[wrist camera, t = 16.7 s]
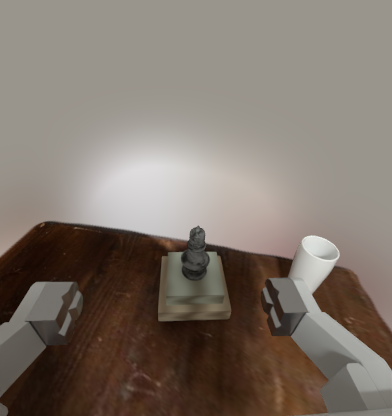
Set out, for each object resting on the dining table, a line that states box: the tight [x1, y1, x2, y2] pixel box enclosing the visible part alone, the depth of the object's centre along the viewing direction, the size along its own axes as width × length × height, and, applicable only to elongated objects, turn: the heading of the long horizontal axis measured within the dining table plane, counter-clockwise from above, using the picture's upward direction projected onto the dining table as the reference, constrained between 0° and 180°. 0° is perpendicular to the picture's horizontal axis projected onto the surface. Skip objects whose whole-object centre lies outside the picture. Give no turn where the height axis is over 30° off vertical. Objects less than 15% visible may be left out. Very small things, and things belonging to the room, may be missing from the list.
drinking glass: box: [288, 236, 340, 294], centre depth 46 cm, size 7×7×15 cm
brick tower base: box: [158, 252, 231, 321], centre depth 48 cm, size 14×14×6 cm
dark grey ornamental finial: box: [181, 226, 210, 281], centre depth 43 cm, size 6×6×12 cm
